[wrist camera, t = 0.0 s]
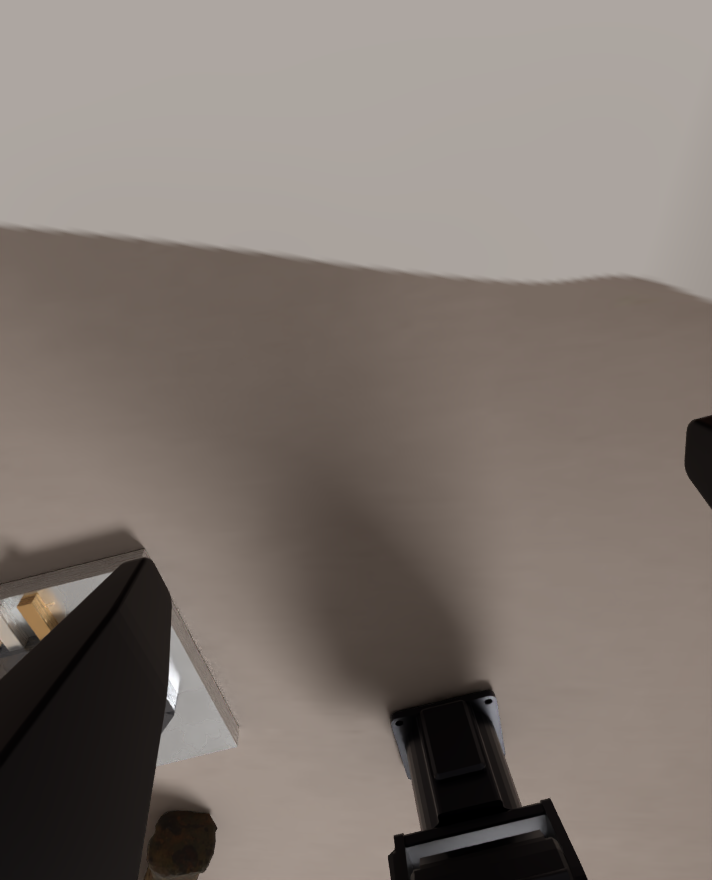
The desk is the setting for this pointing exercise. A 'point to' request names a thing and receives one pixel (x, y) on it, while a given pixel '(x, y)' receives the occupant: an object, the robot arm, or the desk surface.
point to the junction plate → (190, 683)
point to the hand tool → (181, 846)
